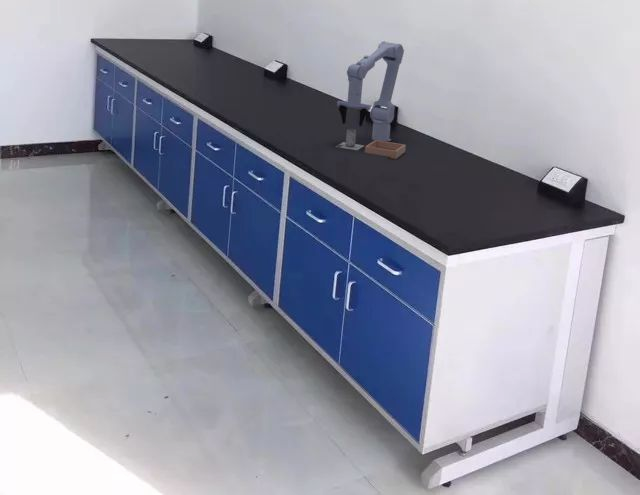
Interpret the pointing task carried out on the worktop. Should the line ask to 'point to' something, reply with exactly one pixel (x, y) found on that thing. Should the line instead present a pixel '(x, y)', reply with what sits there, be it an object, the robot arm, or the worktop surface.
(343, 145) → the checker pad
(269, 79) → the worktop surface
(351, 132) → the cell
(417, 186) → the worktop surface
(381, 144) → the bin
